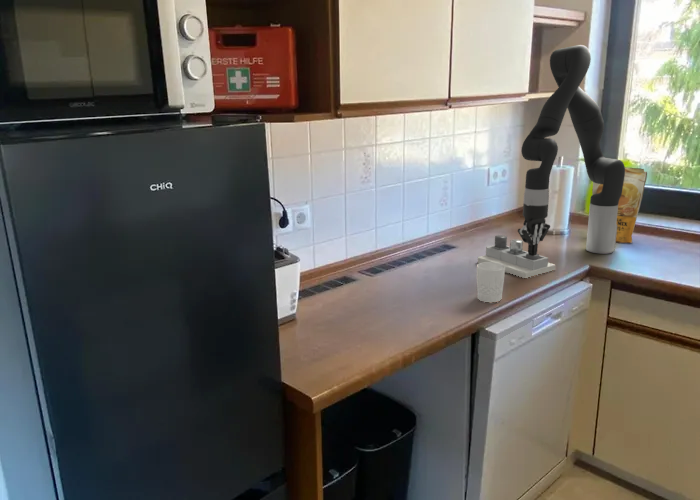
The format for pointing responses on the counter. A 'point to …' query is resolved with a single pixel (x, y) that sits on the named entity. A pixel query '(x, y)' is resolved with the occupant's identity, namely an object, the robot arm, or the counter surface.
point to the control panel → (516, 262)
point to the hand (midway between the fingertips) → (532, 254)
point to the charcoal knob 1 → (500, 241)
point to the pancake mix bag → (628, 202)
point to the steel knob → (516, 246)
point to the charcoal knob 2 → (532, 257)
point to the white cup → (490, 281)
